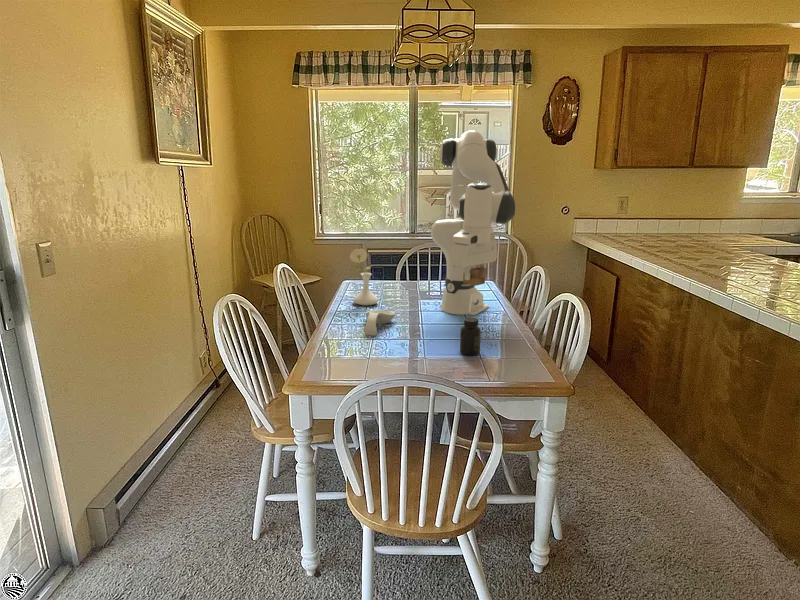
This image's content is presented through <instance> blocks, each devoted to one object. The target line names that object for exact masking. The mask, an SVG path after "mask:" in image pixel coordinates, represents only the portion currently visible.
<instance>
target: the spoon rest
mask: <svg viewBox="0 0 800 600" xmlns="http://www.w3.org/2000/svg"><path fill="white" fill-rule="evenodd" d="M364 314H365V316H366V318H367V320H366V324H365V328H364V333H363V335H364V336H371V337H372V336H373V337H377V335H378V332H377V330H378V329H377V325H385V324H387V323H389V322H390V321H392V320H393V319H394V318H395V315H396V313H395V312H394V311H391V310H382V309H381V310H380V309H376V310H375V309H372V310H368V311H365V313H364Z"/></svg>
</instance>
